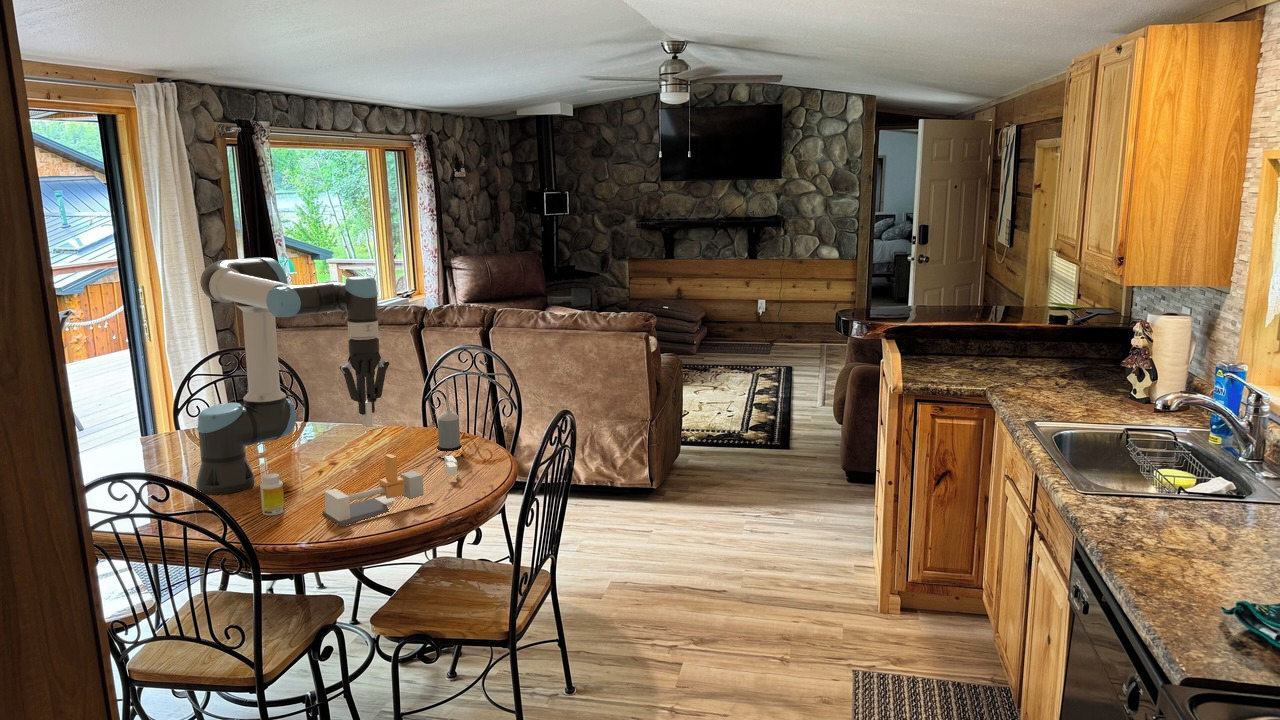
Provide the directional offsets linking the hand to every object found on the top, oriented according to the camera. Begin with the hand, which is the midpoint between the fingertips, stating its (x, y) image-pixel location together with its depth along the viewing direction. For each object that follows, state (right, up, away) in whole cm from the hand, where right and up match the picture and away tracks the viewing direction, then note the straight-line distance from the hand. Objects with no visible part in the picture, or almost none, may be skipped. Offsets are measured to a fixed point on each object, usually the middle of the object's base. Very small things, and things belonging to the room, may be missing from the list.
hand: (367, 425), depth 228 cm
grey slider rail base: (+1, -23, +6) cm, 24 cm away
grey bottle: (+10, -14, +54) cm, 57 cm away
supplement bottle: (-26, -23, +2) cm, 35 cm away
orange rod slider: (+4, -19, +8) cm, 21 cm away
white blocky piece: (+14, -19, +33) cm, 40 cm away
